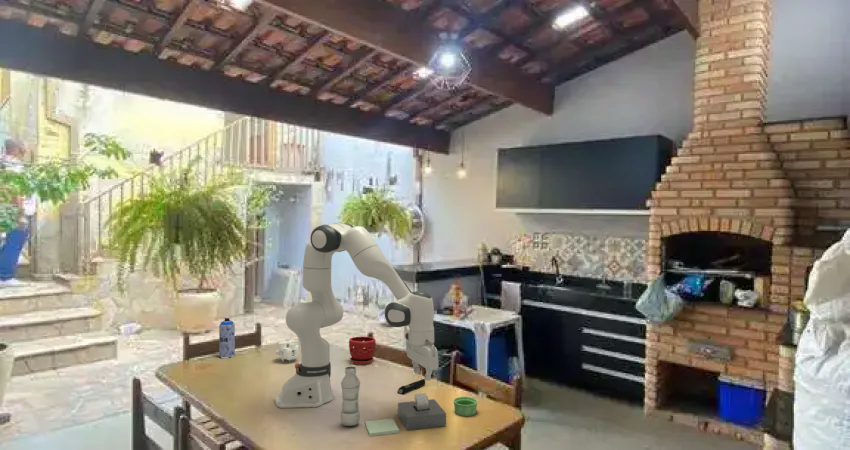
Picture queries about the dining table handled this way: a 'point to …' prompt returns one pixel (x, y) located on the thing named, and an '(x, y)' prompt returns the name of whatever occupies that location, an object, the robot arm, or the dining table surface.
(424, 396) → the steel peg
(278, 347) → the mechanical part
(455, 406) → the ramekin
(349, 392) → the plastic bottle
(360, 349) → the plant pot
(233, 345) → the aerosol can
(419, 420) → the socket block
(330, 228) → the robot arm
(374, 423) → the sage pad
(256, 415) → the dining table surface
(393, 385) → the dining table surface
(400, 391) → the electric trimmer
